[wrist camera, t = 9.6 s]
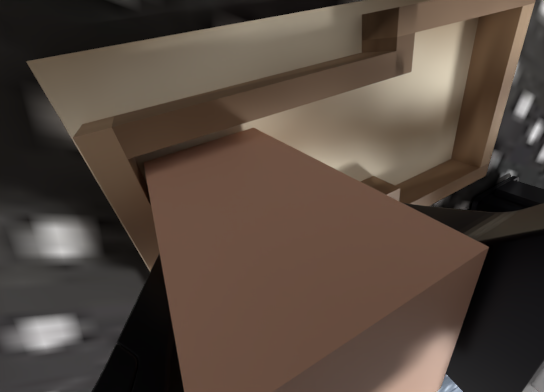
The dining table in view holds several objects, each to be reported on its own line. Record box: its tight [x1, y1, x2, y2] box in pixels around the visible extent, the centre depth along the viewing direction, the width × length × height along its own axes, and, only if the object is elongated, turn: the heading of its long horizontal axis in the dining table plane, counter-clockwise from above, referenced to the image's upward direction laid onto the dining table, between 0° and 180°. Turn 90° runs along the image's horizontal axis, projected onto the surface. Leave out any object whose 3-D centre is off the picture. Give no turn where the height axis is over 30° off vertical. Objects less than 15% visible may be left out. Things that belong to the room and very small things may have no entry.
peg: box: [143, 128, 489, 392], centre depth 8 cm, size 4×4×9 cm
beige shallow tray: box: [26, 0, 535, 271], centre depth 14 cm, size 12×22×3 cm, turn 101°
